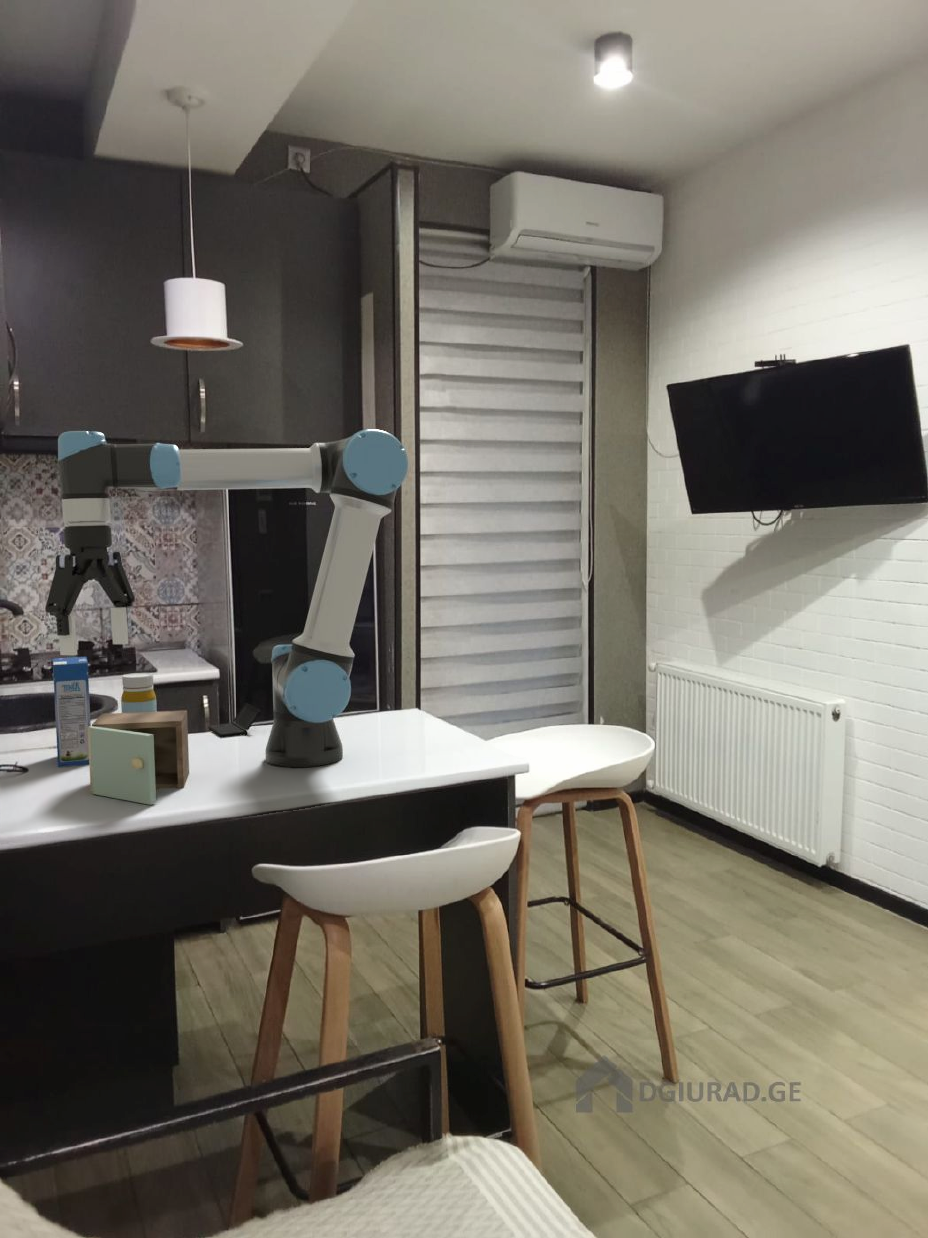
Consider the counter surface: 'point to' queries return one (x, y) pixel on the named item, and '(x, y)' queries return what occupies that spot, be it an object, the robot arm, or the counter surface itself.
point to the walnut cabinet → (158, 741)
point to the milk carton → (72, 710)
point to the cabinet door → (122, 764)
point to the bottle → (138, 693)
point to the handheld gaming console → (237, 723)
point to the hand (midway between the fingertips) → (95, 649)
